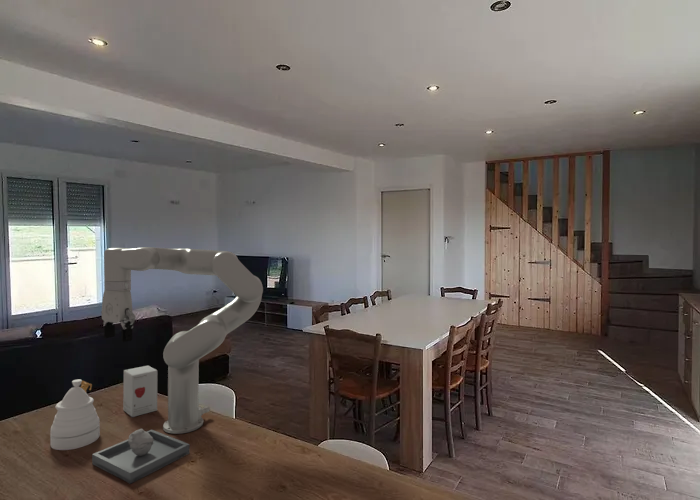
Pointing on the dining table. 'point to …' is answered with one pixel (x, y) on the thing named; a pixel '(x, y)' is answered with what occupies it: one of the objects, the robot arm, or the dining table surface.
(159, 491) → the dining table surface
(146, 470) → the tray
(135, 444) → the frog figurine
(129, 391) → the supplement box
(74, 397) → the honey pot
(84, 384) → the figurine
